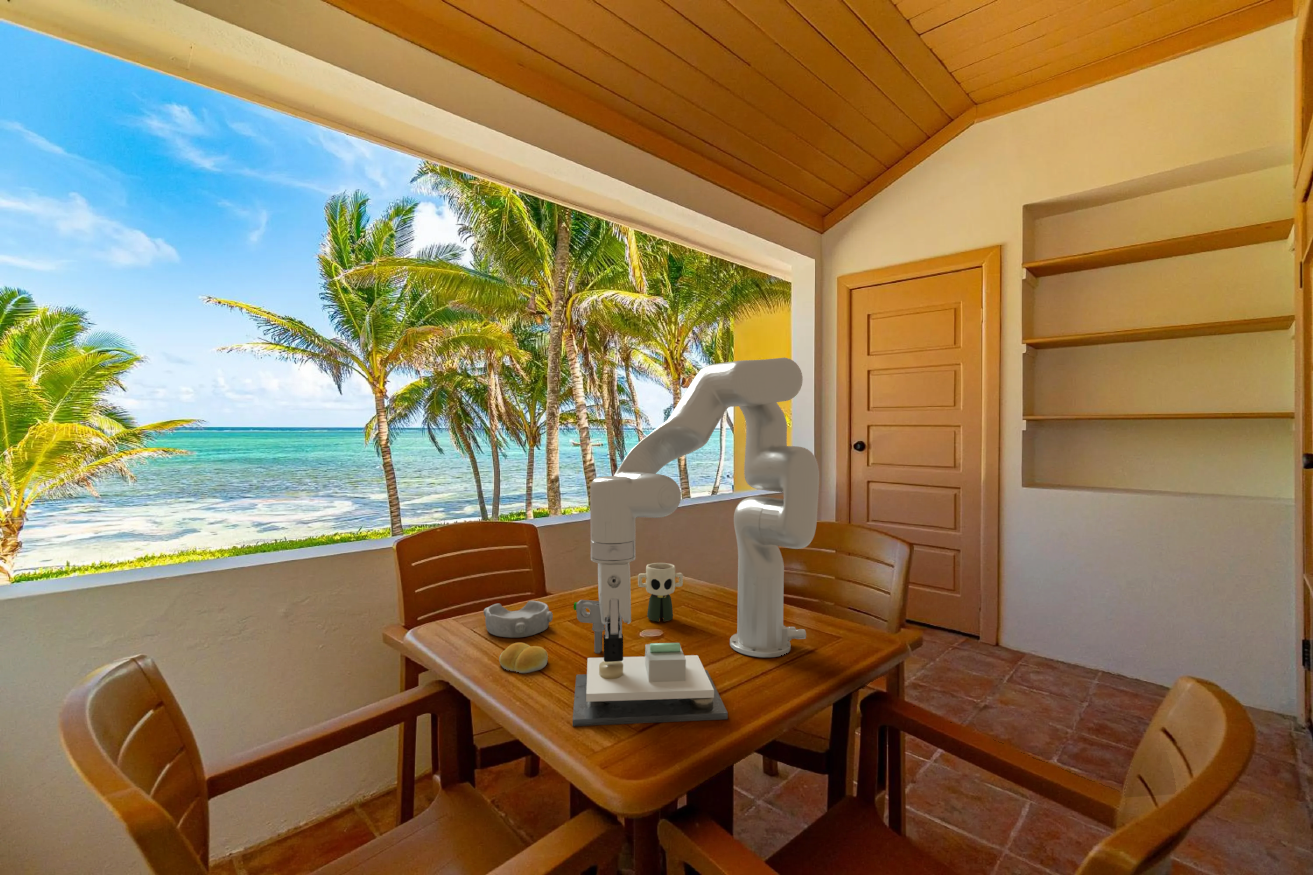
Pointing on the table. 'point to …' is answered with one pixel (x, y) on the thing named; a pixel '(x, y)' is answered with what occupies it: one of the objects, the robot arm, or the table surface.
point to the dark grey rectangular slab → (644, 708)
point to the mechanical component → (591, 619)
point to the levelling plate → (641, 685)
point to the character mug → (660, 589)
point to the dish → (518, 620)
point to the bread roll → (523, 658)
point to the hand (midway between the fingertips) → (613, 659)
